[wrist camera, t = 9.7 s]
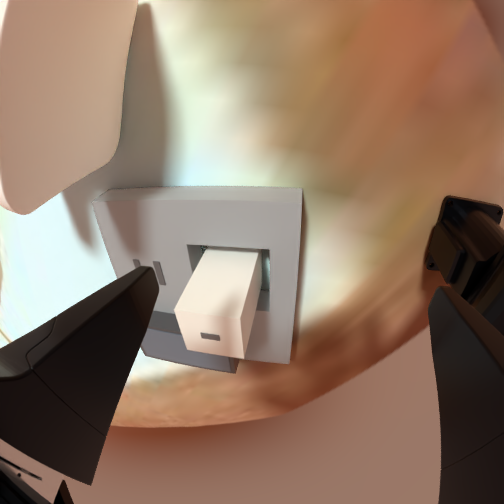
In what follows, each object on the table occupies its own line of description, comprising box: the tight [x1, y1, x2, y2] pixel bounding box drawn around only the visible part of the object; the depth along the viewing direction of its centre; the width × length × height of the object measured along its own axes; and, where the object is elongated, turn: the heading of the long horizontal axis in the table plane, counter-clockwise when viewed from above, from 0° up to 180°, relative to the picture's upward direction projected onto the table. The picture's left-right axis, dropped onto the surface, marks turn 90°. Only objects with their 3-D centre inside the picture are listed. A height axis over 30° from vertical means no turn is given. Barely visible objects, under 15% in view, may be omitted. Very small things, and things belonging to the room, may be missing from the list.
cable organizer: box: [0, 0, 138, 215], centre depth 11 cm, size 15×11×12 cm
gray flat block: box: [140, 310, 240, 374], centre depth 25 cm, size 10×6×2 cm, turn 92°
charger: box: [174, 246, 262, 359], centre depth 20 cm, size 4×4×8 cm
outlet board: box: [92, 186, 302, 364], centre depth 24 cm, size 16×17×3 cm
